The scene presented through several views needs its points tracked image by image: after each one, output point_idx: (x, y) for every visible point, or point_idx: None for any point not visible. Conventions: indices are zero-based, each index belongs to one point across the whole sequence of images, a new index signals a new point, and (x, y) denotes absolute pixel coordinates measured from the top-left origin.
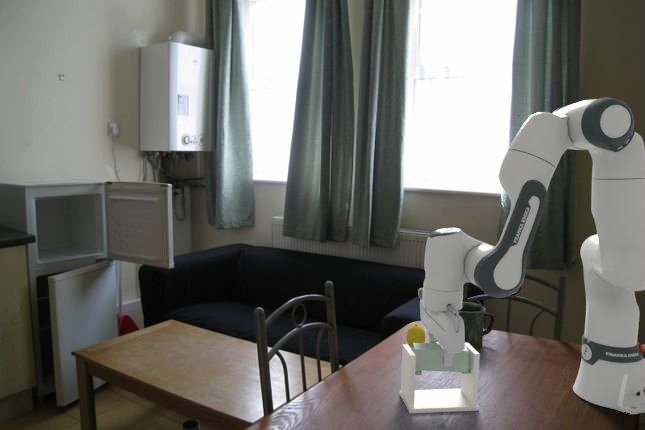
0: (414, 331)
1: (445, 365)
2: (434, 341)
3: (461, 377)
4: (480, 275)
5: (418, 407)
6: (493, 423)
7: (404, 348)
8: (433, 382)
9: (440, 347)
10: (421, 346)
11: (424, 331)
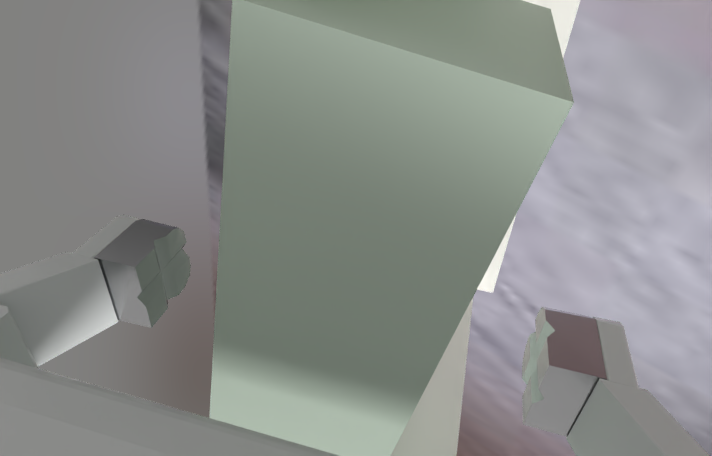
0: None
1: (120, 220)
2: (581, 420)
3: (467, 319)
4: None
5: None
6: (217, 233)
7: None
8: (677, 203)
9: (299, 360)
10: (357, 168)
11: None
